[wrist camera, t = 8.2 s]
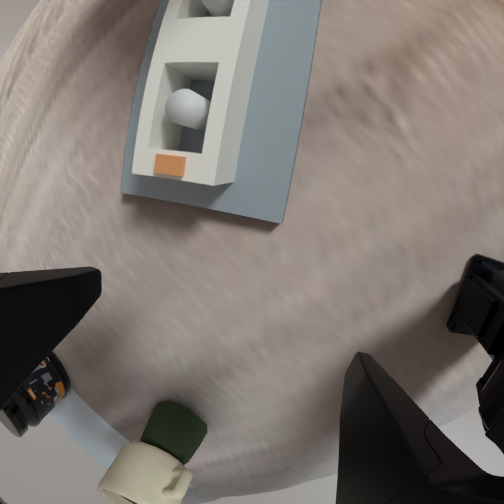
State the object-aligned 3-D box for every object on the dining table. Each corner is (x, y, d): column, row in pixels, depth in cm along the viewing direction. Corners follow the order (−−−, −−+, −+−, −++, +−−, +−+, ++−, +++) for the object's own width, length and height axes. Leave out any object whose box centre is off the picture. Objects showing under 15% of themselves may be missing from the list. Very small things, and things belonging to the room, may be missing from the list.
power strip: (274, -24, 13) (264, -59, 9) (234, 181, 18) (211, 186, 14) (208, -23, 14) (187, -53, 9) (164, 170, 19) (127, 173, 14)
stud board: (325, -27, 13) (325, -65, 8) (283, 220, 19) (274, 238, 15) (179, -27, 15) (153, -56, 10) (129, 191, 21) (87, 199, 16)
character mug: (171, 441, 29) (129, 519, 17) (132, 404, 28) (76, 480, 16) (240, 428, 26) (204, 532, 14) (197, 383, 25) (137, 492, 13)
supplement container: (65, 401, 33) (22, 446, 22) (22, 352, 33) (-26, 390, 21) (79, 376, 30) (24, 432, 18) (28, 318, 29) (-33, 360, 18)
